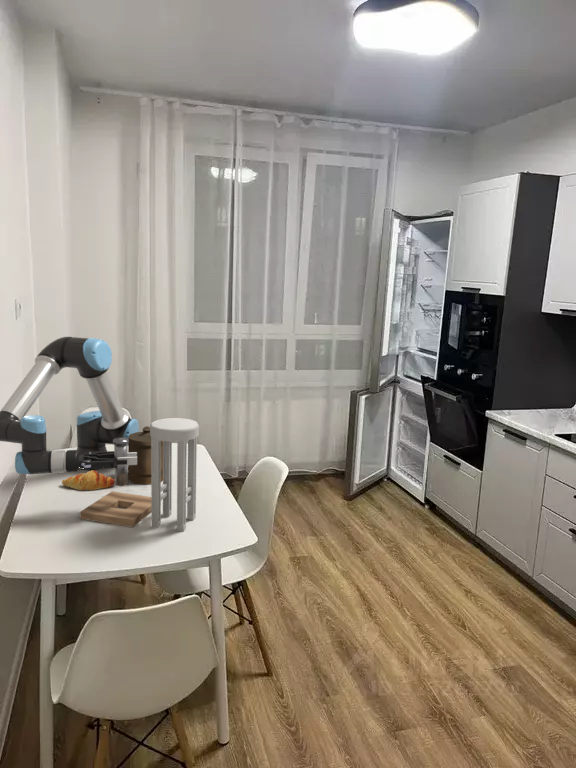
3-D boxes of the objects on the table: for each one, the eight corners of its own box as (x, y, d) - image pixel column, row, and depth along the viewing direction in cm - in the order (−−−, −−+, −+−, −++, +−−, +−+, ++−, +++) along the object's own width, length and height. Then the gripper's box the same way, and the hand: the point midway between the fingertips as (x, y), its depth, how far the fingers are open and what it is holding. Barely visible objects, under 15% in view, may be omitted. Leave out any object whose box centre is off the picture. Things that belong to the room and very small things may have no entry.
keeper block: (112, 497, 215) (111, 491, 214) (160, 504, 210) (160, 498, 209) (80, 518, 196) (80, 511, 195) (133, 527, 191) (133, 520, 190)
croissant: (60, 497, 222) (56, 483, 217) (66, 478, 229) (62, 464, 224) (116, 496, 224) (113, 483, 219) (120, 477, 231) (117, 463, 226)
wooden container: (168, 473, 243) (168, 423, 239) (159, 485, 229) (160, 432, 225) (134, 471, 244) (133, 421, 240) (123, 483, 229) (122, 430, 225)
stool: (203, 516, 202) (204, 420, 195) (186, 534, 187) (188, 431, 180) (162, 510, 205) (162, 415, 198) (142, 528, 190) (142, 426, 183)
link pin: (118, 480, 204) (118, 437, 201) (131, 482, 202) (131, 438, 200) (110, 485, 199) (110, 440, 196) (123, 487, 197) (123, 442, 195)
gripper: (68, 463, 203) (136, 461, 209) (63, 480, 186) (137, 477, 193) (68, 443, 202) (136, 441, 208) (62, 458, 185) (137, 455, 191)
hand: (136, 458), depth 200 cm, fingers closed on link pin, 4 cm apart
